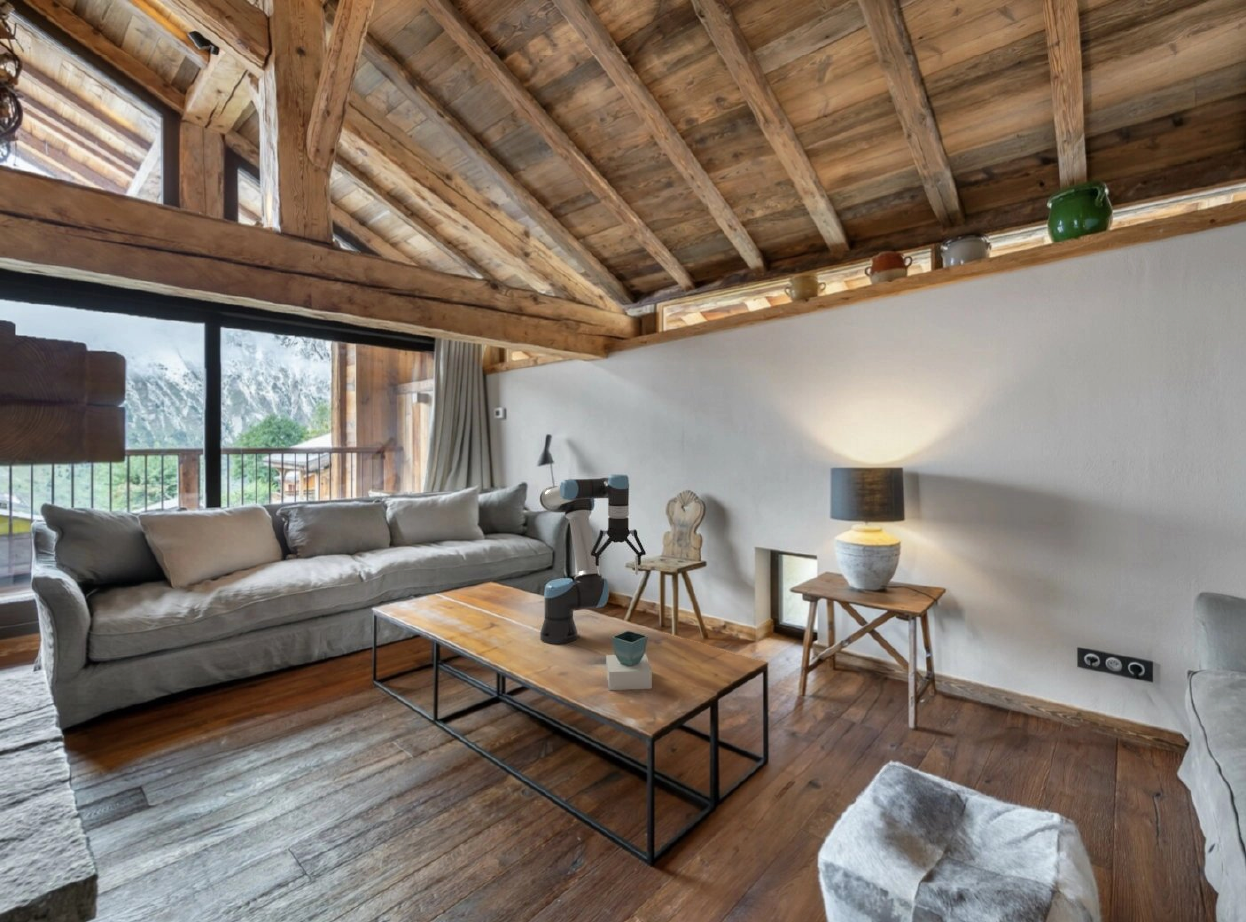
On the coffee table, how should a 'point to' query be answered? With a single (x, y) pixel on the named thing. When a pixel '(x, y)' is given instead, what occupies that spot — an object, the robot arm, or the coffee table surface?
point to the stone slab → (628, 674)
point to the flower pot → (629, 647)
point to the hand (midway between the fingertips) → (618, 574)
